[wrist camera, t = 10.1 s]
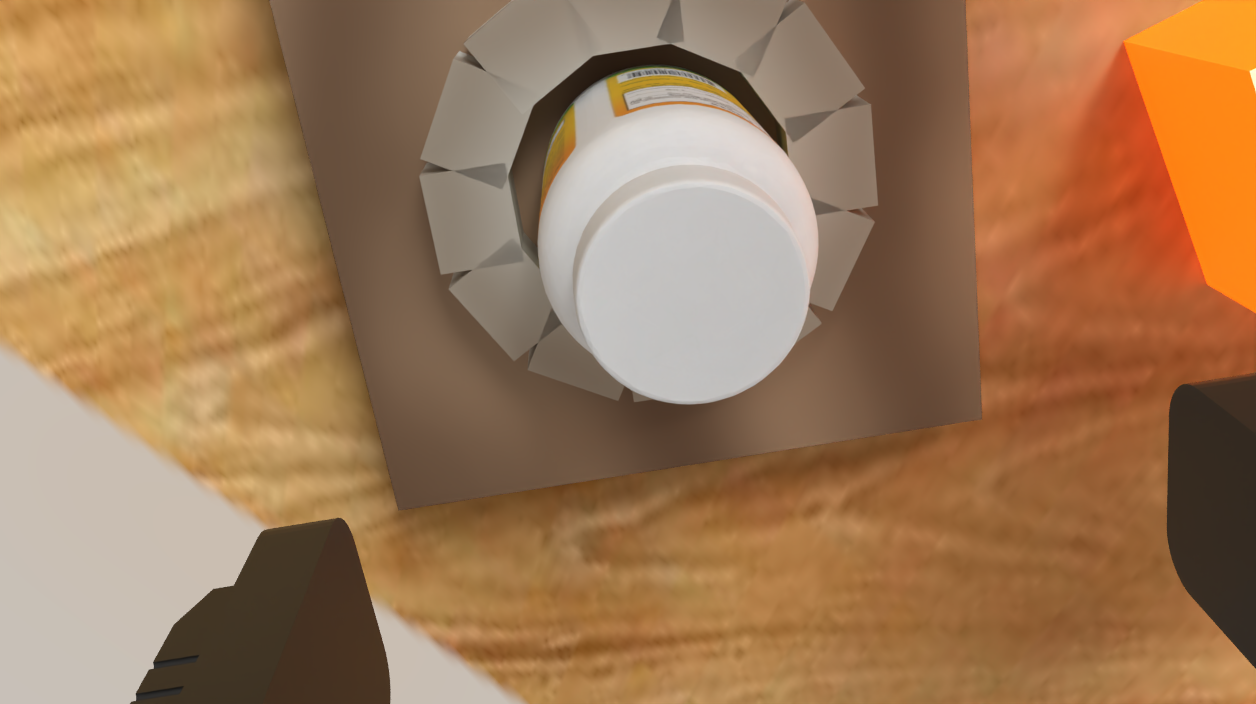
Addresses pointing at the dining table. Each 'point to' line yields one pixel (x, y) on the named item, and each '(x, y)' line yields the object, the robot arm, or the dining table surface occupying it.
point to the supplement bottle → (675, 236)
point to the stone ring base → (510, 205)
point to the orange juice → (1208, 130)
